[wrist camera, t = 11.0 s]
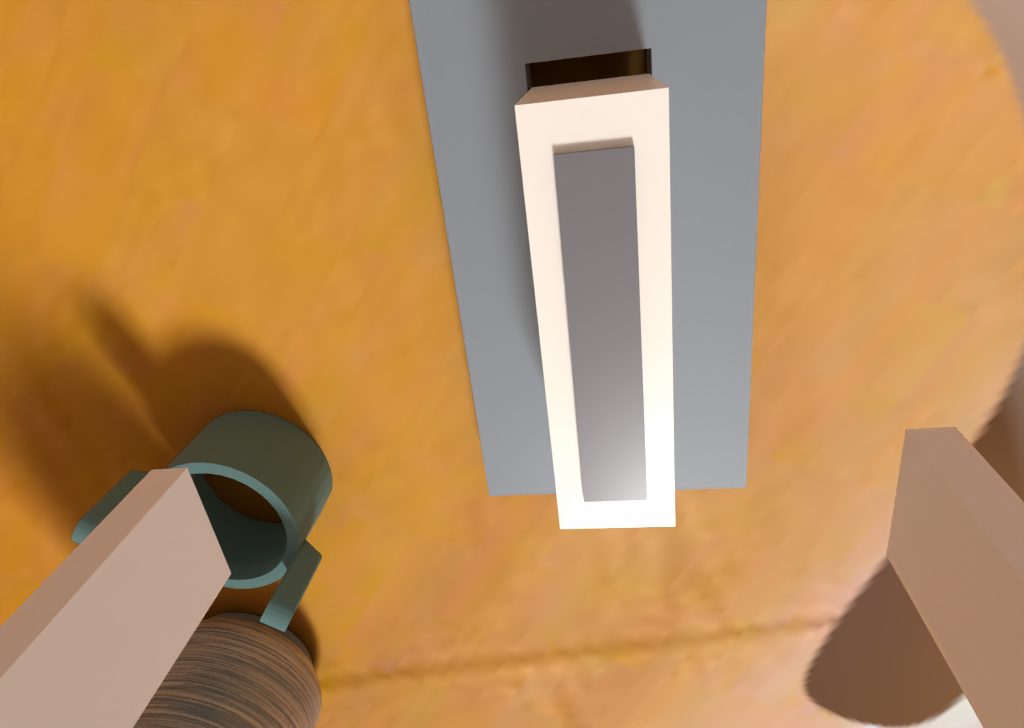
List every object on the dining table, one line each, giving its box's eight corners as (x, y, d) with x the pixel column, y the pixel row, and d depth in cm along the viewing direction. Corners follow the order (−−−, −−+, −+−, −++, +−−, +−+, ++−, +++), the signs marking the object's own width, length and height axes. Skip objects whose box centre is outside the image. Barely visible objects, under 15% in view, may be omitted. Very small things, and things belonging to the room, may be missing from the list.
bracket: (165, 421, 39) (54, 525, 31) (311, 399, 37) (234, 503, 29) (227, 541, 42) (143, 661, 34) (362, 526, 41) (306, 649, 33)
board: (419, -24, 27) (404, -29, 25) (753, -73, 25) (770, -83, 23) (495, 468, 38) (489, 496, 35) (736, 458, 36) (746, 487, 33)
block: (535, 83, 28) (513, 106, 20) (645, 70, 27) (669, 88, 19) (566, 414, 35) (560, 533, 27) (654, 410, 34) (675, 530, 26)
